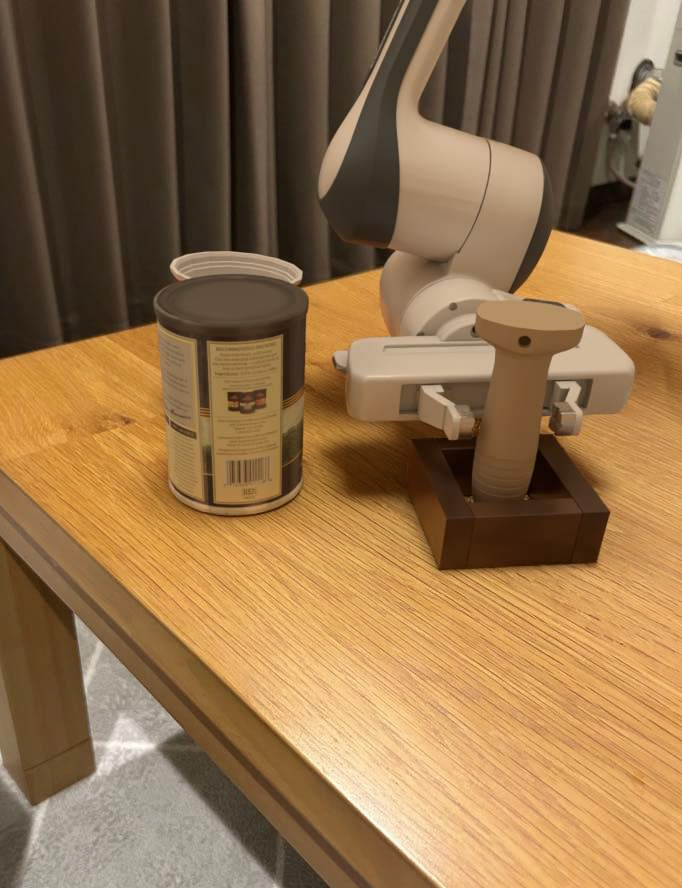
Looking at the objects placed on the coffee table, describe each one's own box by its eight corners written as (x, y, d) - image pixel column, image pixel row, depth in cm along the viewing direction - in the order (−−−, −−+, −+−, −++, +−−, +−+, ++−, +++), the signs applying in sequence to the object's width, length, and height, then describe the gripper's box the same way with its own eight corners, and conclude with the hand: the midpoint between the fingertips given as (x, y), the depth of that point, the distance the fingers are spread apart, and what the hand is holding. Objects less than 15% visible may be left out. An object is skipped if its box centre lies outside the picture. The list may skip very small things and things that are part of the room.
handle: (536, 548, 58) (583, 335, 50) (441, 530, 60) (471, 321, 51) (542, 511, 62) (587, 308, 53) (453, 496, 64) (482, 295, 55)
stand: (542, 480, 66) (552, 433, 63) (596, 562, 57) (610, 511, 55) (405, 485, 65) (410, 438, 63) (439, 569, 56) (446, 518, 54)
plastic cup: (323, 409, 75) (329, 271, 68) (212, 438, 71) (207, 294, 64) (261, 365, 83) (261, 238, 76) (158, 389, 78) (148, 255, 72)
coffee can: (248, 435, 71) (246, 263, 63) (331, 486, 65) (341, 301, 57) (140, 473, 66) (123, 291, 58) (219, 533, 59) (212, 337, 51)
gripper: (330, 309, 64) (360, 387, 53) (595, 303, 66) (680, 378, 55) (326, 387, 68) (354, 476, 57) (578, 380, 70) (654, 465, 58)
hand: (517, 428), depth 56 cm, fingers open, 6 cm apart
